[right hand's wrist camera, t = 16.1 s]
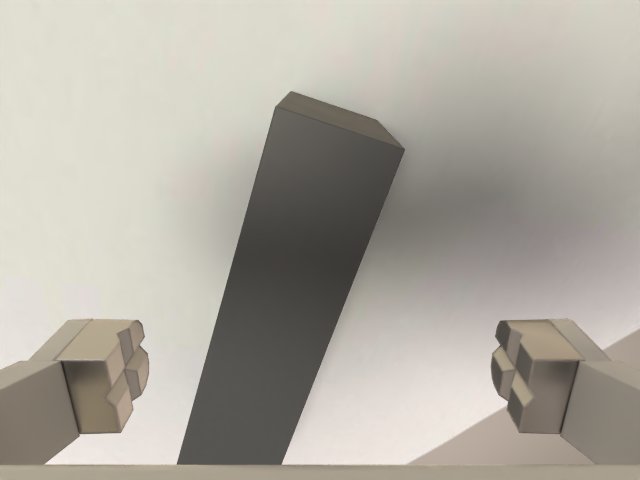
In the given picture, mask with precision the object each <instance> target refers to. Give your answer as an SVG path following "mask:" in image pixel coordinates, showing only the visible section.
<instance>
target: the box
mask: <svg viewBox="0 0 640 480" xmlns="http://www.w3.org/2000/svg"><path fill="white" fill-rule="evenodd" d="M404 150H405V149H404V148H403V147H402V146H401V145H400V144H399V143H398V142H397V141H396V140H395V139H394V137H393V136H392V135H391V134H390V133H389V132H388V131H387V130H386V129H385V128H384V127H383V126H382V125H381V124H380V123H379V122H378V121H377V120H375V119H372V118H369V117H366V116H363V115H360V114H357V113H354V112H351V111H348V110H345V109H342V108H339V107H336V106H334V105H331V104H328V103H325V102H322V101H319V100H316V99H313V98H310V97H307V96H304V95H301V94H298V93H295V92H292V91H291V92H290V93H289V94H288V95H287V96H286V97H285V98H284V99H283V100H282V101H281V102H280V103H279V104H278V105H277V106H276V107H275V110H274V113H273V117H272V121H271V124H270V128H269V132H268V135H267V139H266V142H265V146H264V150H263V153H262V157H261V161H260V164H259V168H258V172H257V175H256V179H255V182H254V186H253V190H252V193H251V197H250V201H249V204H248V208H247V211H246V215H245V219H244V222H243V226H242V230H241V233H240V237H239V240H238V244H237V248H236V251H235V255H234V259H233V262H232V266H231V269H230V273H229V277H228V280H227V284H226V288H225V291H224V295H223V298H222V302H221V306H220V309H219V313H218V317H217V320H216V324H215V327H214V331H213V335H212V338H211V342H210V346H209V349H208V353H207V356H206V360H205V364H204V367H203V371H202V375H201V378H200V382H199V385H198V389H197V393H196V396H195V400H194V404H193V407H192V411H191V415H190V418H189V422H188V425H187V429H186V433H185V436H184V440H183V444H182V447H181V451H180V454H179V458H178V462H177V465H281V464H282V462H283V459H284V457H285V454H286V451H287V449H288V446H289V444H290V441H291V439H292V436H293V434H294V431H295V428H296V426H297V423H298V421H299V418H300V416H301V413H302V411H303V408H304V406H305V403H306V400H307V398H308V395H309V393H310V390H311V388H312V385H313V383H314V380H315V377H316V375H317V372H318V370H319V367H320V365H321V362H322V360H323V357H324V355H325V352H326V349H327V347H328V344H329V342H330V339H331V337H332V334H333V332H334V329H335V326H336V324H337V321H338V319H339V316H340V314H341V311H342V309H343V306H344V304H345V301H346V298H347V296H348V293H349V291H350V288H351V286H352V283H353V281H354V278H355V275H356V273H357V270H358V268H359V265H360V263H361V260H362V258H363V255H364V252H365V250H366V247H367V245H368V242H369V240H370V237H371V235H372V232H373V230H374V227H375V224H376V222H377V219H378V217H379V214H380V212H381V209H382V207H383V204H384V201H385V199H386V196H387V194H388V191H389V189H390V186H391V184H392V181H393V179H394V176H395V173H396V171H397V168H398V166H399V163H400V161H401V158H402V156H403V153H404Z"/></svg>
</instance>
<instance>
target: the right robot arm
mask: <svg viewBox="0 0 640 480" xmlns="http://www.w3.org/2000/svg"><path fill="white" fill-rule="evenodd" d="M144 337H145V336H144V331H143V326H142V324H141V322H140V321H139V320H114V319H72V320H68V321H67V322H66V323H65V324H64V325H63V326H62V327H61V328H60V329H59V330H58V331H57V332H56V333H55V334H54V335H53V336H52V337H51V338H50V339H49V340H48V341H47V342H46V343H45V344H44V345H43V346H42V347H41V348H40V349H39V350H38V351H37V352H36V353H35V354H34V355H33V356H32V357H31V358H30V359H29V360H28V361H19V362H17V363H15V364H12V365H10V366H8V367H6V368H3V369H1V370H0V480H640V370H639V369H637V368H634V367H632V366H630V365H628V364H625V363H623V362H621V361H612V360H611V359H610V358H609V357H608V356H607V355H606V354H605V353H604V352H603V351H602V350H601V349H600V348H599V347H598V346H597V345H596V344H595V343H594V342H593V341H592V340H591V339H590V338H589V337H588V336H587V335H586V334H585V333H584V332H583V331H582V330H581V329H580V328H579V327H578V326H577V325H576V324H575V323H574V322H573V321H572V320H569V319H545V320H505V321H500V322H499V324H498V326H497V330H496V335H495V337H496V339H497V340H498V342H499V343H500V346H499V347H498V348H497V349H496V350H495V351H494V352H493V353H492V361H491V374H492V380H493V384H494V387H495V389H496V391H497V393H498V395H499V396H501V397H502V398H504V399H505V400H507V401H508V405H507V411H508V413H509V415H510V417H511V419H512V421H513V422H514V424H515V426H516V428H517V430H518V431H519V433H539V434H561V435H560V436H561V437H562V438H564V439H565V440H566V441H567V442H569V443H570V444H571V445H572V446H574V447H575V448H576V449H577V450H579V451H580V452H581V453H583V454H584V455H585V456H587V457H588V458H589V459H590V460H591V461H593V462H594V463H595V464H596V465H44V464H45V463H46V462H47V461H49V460H50V459H51V458H53V457H54V456H55V455H56V454H58V453H59V452H60V451H61V450H63V449H64V448H65V447H66V446H68V445H69V444H70V443H72V442H73V441H74V440H75V439H77V438H78V437H79V436H80V435H79V434H100V433H121V432H122V430H123V428H124V426H125V424H126V422H127V421H128V419H129V417H130V415H131V413H132V411H133V405H132V401H133V400H135V399H136V398H138V397H139V396H141V395H142V393H143V391H144V389H145V387H146V384H147V379H148V375H149V360H148V353H147V352H146V351H145V350H144V349H143V348H142V347H141V346H140V343H141V342H142V340H143V339H144Z"/></svg>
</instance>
